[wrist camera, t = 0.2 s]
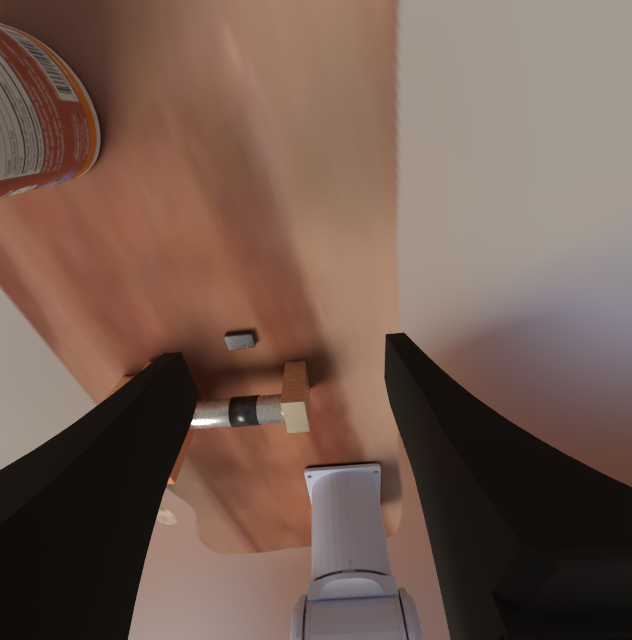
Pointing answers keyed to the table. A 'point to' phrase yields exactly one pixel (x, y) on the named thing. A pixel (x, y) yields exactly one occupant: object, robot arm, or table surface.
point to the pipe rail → (255, 398)
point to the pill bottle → (41, 117)
